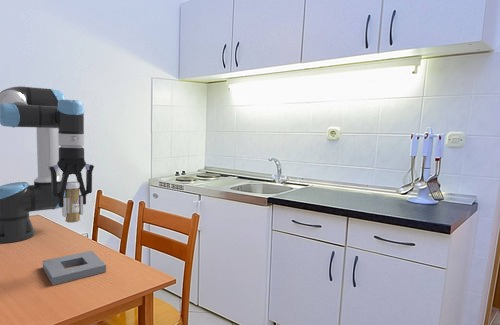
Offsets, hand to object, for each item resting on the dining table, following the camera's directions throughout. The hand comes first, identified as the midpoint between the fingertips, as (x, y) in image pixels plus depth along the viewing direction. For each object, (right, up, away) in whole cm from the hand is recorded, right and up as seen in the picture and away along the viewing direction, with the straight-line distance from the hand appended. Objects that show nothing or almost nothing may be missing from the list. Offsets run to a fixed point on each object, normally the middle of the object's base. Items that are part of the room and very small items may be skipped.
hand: (72, 214), depth 111 cm
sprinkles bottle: (0, -2, 0) cm, 2 cm away
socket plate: (0, -19, +1) cm, 19 cm away
